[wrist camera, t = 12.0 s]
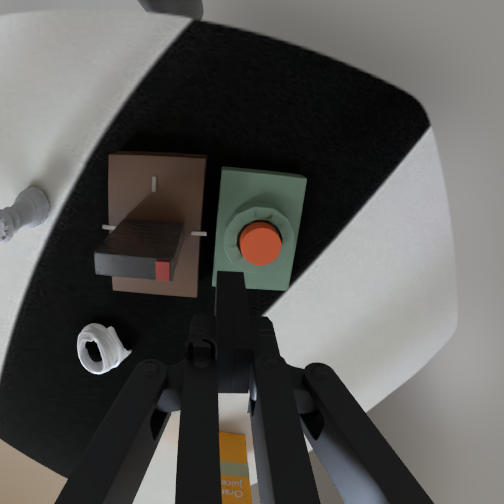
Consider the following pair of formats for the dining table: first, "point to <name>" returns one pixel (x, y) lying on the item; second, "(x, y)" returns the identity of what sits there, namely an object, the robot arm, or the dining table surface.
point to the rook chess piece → (23, 213)
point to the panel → (160, 209)
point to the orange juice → (234, 469)
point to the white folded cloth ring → (101, 348)
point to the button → (260, 243)
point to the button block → (258, 210)
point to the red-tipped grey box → (141, 250)
